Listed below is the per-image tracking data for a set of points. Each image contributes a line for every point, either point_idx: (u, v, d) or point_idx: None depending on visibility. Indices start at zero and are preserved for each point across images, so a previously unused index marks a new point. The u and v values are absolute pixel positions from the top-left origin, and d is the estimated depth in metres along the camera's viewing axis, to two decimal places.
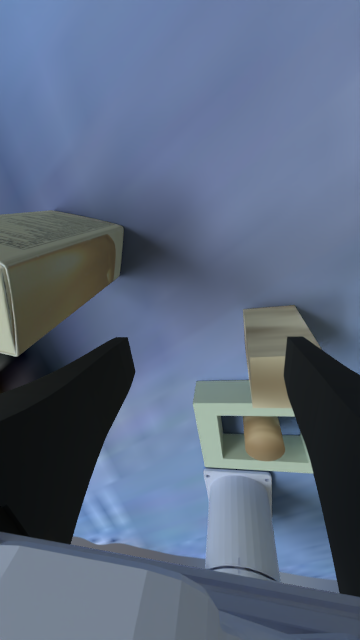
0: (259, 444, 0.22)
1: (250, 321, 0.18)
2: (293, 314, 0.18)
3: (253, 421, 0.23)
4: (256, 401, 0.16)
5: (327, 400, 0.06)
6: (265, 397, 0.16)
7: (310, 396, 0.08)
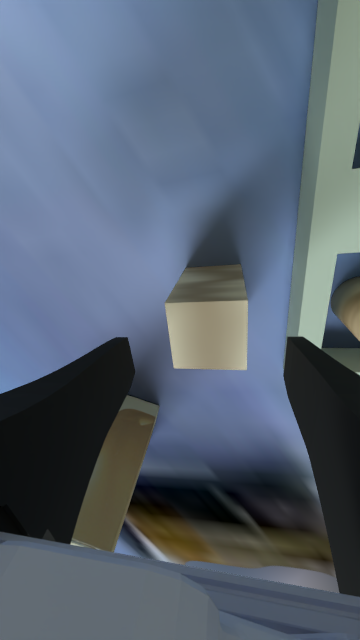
0: None
1: None
2: None
3: (345, 324, 0.16)
4: (235, 365, 0.13)
5: (327, 400, 0.06)
6: (229, 356, 0.13)
7: (310, 396, 0.08)
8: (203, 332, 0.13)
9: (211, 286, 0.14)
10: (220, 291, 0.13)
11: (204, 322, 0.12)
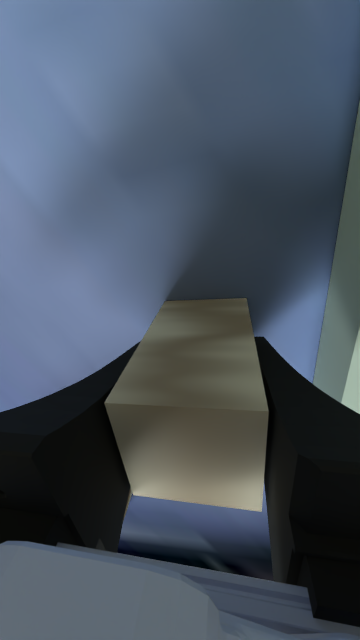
0: None
1: None
2: None
3: None
4: (241, 504, 0.07)
5: (266, 397, 0.07)
6: (230, 490, 0.07)
7: None
8: (180, 452, 0.07)
9: (199, 353, 0.08)
10: (213, 370, 0.07)
11: (182, 438, 0.06)
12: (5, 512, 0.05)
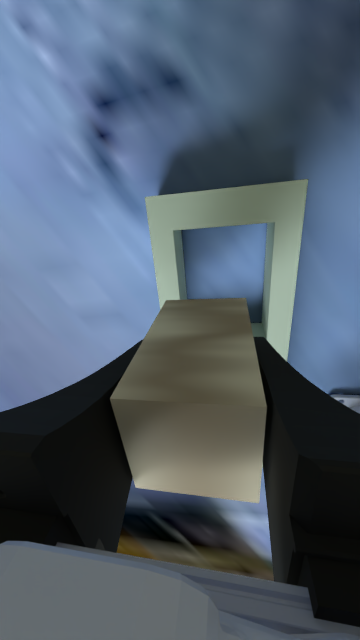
0: None
1: None
2: None
3: None
4: (240, 495, 0.08)
5: (267, 398, 0.07)
6: (229, 483, 0.07)
7: None
8: (182, 445, 0.07)
9: (200, 351, 0.08)
10: (214, 368, 0.07)
11: (184, 432, 0.07)
12: (4, 512, 0.05)
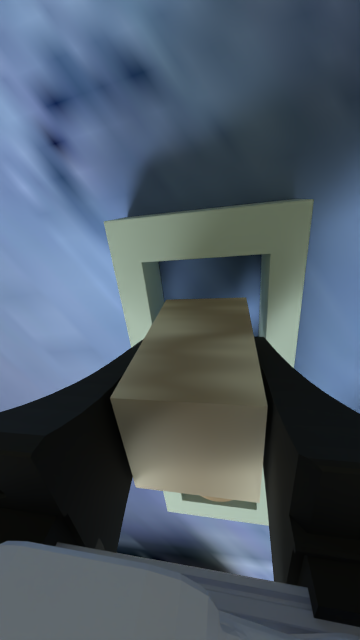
0: None
1: None
2: None
3: None
4: (240, 495, 0.07)
5: (267, 397, 0.07)
6: (230, 483, 0.07)
7: None
8: (182, 445, 0.07)
9: (200, 351, 0.08)
10: (214, 367, 0.07)
11: (184, 432, 0.07)
12: (5, 512, 0.05)
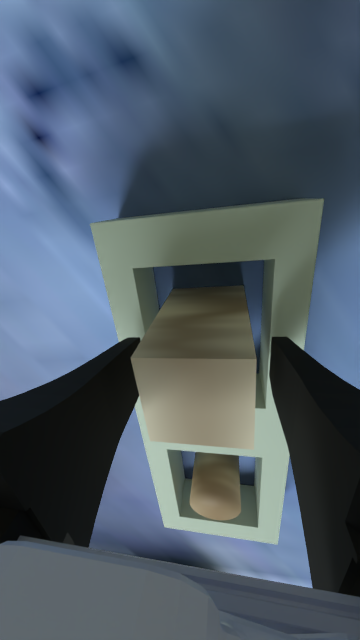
0: (206, 508, 0.17)
1: None
2: None
3: None
4: (238, 443, 0.09)
5: (302, 399, 0.07)
6: (228, 431, 0.09)
7: (290, 395, 0.08)
8: (189, 398, 0.08)
9: (203, 325, 0.10)
10: (214, 335, 0.09)
11: (191, 386, 0.08)
12: None
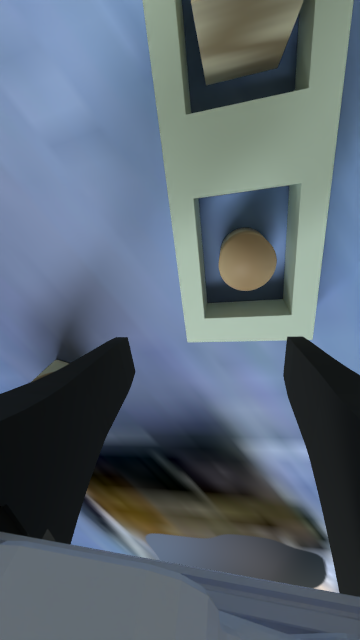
0: (237, 272, 0.15)
1: None
2: None
3: None
4: None
5: (327, 400, 0.06)
6: None
7: (310, 396, 0.08)
8: None
9: None
10: None
11: None
12: None
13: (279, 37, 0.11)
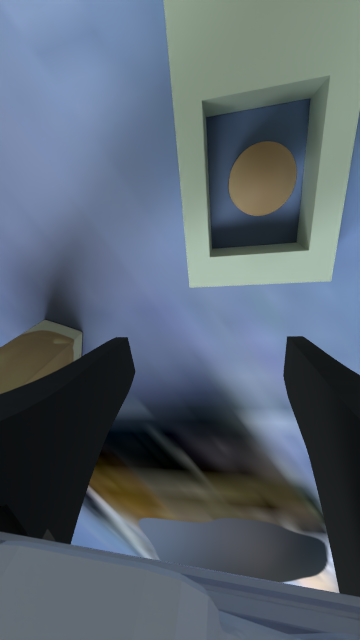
0: (250, 191, 0.13)
1: None
2: None
3: (232, 199, 0.15)
4: None
5: (327, 400, 0.06)
6: None
7: (310, 396, 0.08)
8: None
9: None
10: None
11: None
12: None
13: None
